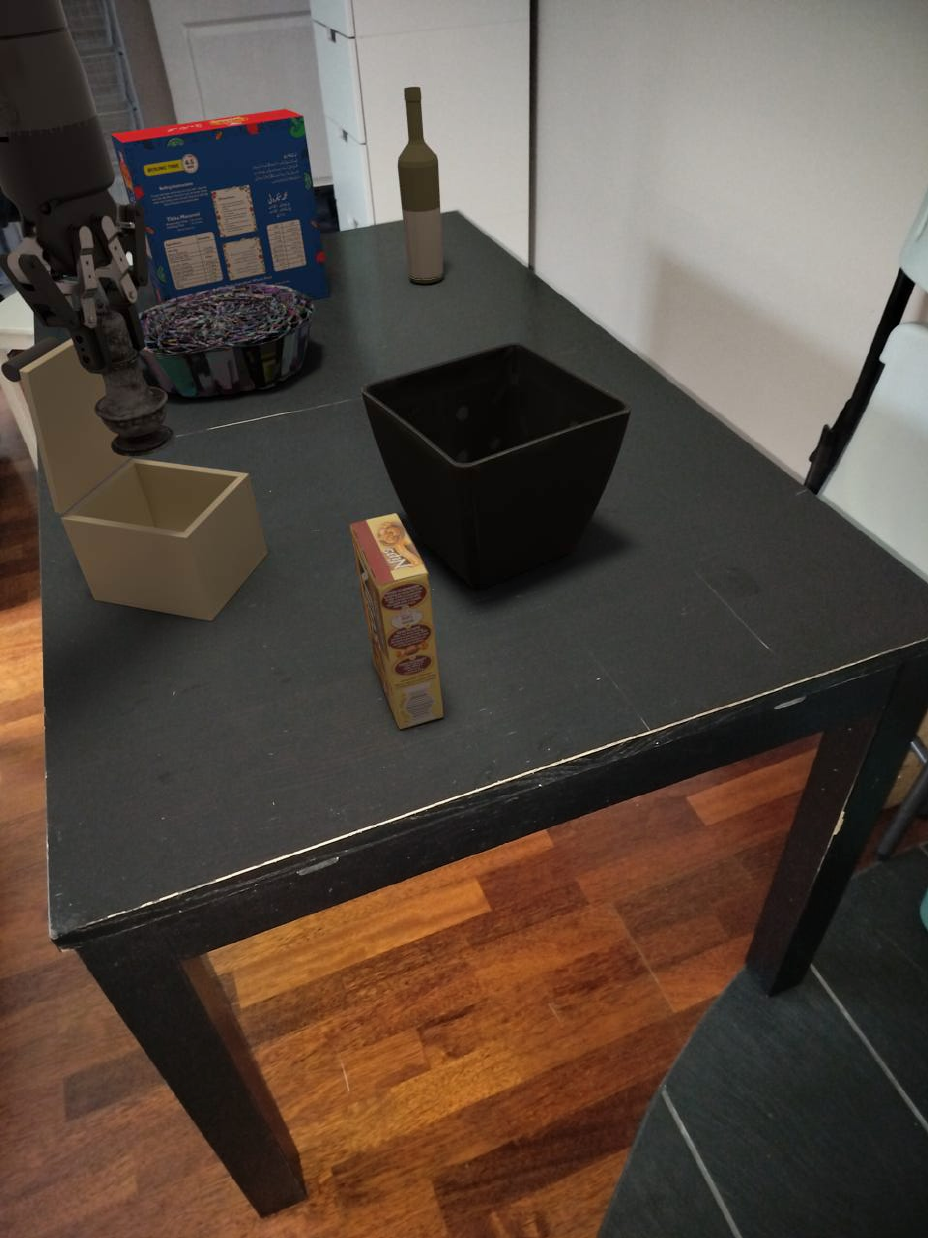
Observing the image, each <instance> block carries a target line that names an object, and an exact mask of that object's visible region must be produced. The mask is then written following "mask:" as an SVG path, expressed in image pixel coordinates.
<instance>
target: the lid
mask: <svg viewBox="0 0 928 1238" xmlns="http://www.w3.org/2000/svg"><path fill="white" fill-rule="evenodd" d="M0 370H1V373H2V375H3V376H4V378H5V379H7V380H8V381H9V382H11V383H19V382H20V381H21V383H22V388H23V392H24V397H25V399H26V404H27V407H28V412H29V416H30V419H31V423H32V427H33V431H34V435H35V440H36V443H37V447H38V450H39V456H40V458H41V462H42V467H43V470H44V474H45V479H46V482H47V486H48V490H49V494H50V498H51V502H52V506H53V510H54V513H55V514H58V515H65V514H66V513H67V512H68V510H71V509H72V508H73V507H74V506H75V505H77V504H78V503H79V502H80V501H81V500H83V499H84V498H85V496H87V495H89V494H90V493H91V491H92V490H95V489H96V488H97V487H98V486H99V485H101V484H102V483H103V481H106V480H107V479H108V478H109V477H110V476H112V475H113V474H114V473H115V472H116V471H118V470H119V469H120V468H121V467H122V466H124V465H125V464H126V463H127V462H128V461H130V460H131V459H132V457H129V456H122V455H119V454H116V453H115V452H113V450H112V448H111V443H112V441H113V440H114V438H115V437H117V436H118V434H116V433H114V432H112V431H111V430H109V429H108V427H107V426H106V425H105V424H104V423H103V421H102V419H101V417H99V416H98V415H96V413H95V411H94V407H95V405H96V403H97V402H98V401H99V400H100V399H101V398H103V397H104V396H106V388H105V383H104V380H103V377H102V374H93V373H89V372H88V371H87V370H86V369H84V368H83V366H82V365H81V364H80V361H79V358H78V355H77V352H76V350H75V347H74V344H73V341H72V338H71V337H70V338H69V339H67V340H66V341H65V342H62V343H61V341H60V340H58V339H57V338H56V337H54V336H47V337H45V338H44V339H42V340H41V341H39V342H38V343H36V344H33V345H32V346H30V347H29V348H27V349H25V350H23V351H22V352H20V353H19V354H16V355H15V356H14V357H11V358H10V359H8V360H6V361H5V362H3V363H2V364H1V366H0Z"/></svg>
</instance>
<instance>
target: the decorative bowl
mask: <svg viewBox="0 0 928 1238" xmlns="http://www.w3.org/2000/svg"><path fill="white" fill-rule="evenodd" d="M315 312H316V308H315V299H313V298H310V297H308V296H306V295H304V294H302V293H301V292H299V291H295V290H293V289H291V288H289V287H284V286H276V285H264V284H247V285H240V286H235V287H226V288H217V289H212V290H209V291H204V292H199V293H193V294H189V295H185V296H181V297H177V298H174V299H171V300H169V301H167V302H164V303H161V304H158V305H157V304H156V305H154V306H152V307H150V308H148V309H146V310H144V311H141V312H139V313H138V315H139V319H140V322H141V326H142V329H143V332H144V342H145V348H144V349H143V350H141V351H140V352H139V353H140V357H139V358H140V360H141V361H142V363H143V364H144V365H145V368H146V369H147V370H148V371H149V373H150V374H151V375H152V377H153V378H154V379H155V381H156V383H157V384H158V385H159V386H160V387H161V389H162V390H163V391H165V392H166V394H171V395H175V394H176V395H177V394H179V395H180V396H181V397H183V398H190V399H198V398H200V397H206V398H209V397H214V396H218V395H222V396H227V395H236V394H239V393H241V392H247V391H248V392H249V391H253V390H259V391H260V390H261V391H263V390H266V389H269V388H272V387H275V386H276V385H277V384H278V382H282V381H285V380H286V379H287V378H289V377H290V376H294V375H296V374H298V372H299V371H300V370H301V368H302V364H303V363H304V362H305V358H306V353H307V347H308V342H309V338H310V337H309V336H310V331H311V325H312V321H313V316H314V313H315Z"/></svg>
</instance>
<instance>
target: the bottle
mask: <svg viewBox="0 0 928 1238" xmlns="http://www.w3.org/2000/svg"><path fill="white" fill-rule="evenodd" d="M403 95H404V96H403V97H404V101H405V113H406V114H405V115H406V123H407V124H406V126H407V136H408V137H407V139H408V140H407V144H406V145H405V147H403V150H402V151H401V153H400V154H399V156H398V159H397V173H398V174H397V175H398V183H399V194H400V203H401V211H402V221H403V233H404V242H405V243H404V244H405V249H406V250H405V251H406V261H407V271H408V277H409V276H410V277H412V278H415V279H421V280H415V279H412V278H410V277H409V281H411V282H413V283H416V284H421V285H429V284H433V283H434V284H435V283H437V282H439V281H440V280H442V279H443V278H444V259H443V258H444V257H443V237H442V215H441V214H442V213H441V194H440V172H439V158H438V155H437V154H436V153H435V152H434V150H432V148H431V147H430V146H429V145H428V143H426V140H425V138H424V124H423V109H422V98H423V97H422V90H421V87H420V86H409V87H405V88H404V89H403ZM442 274H443V275H442ZM441 275H442V276H441ZM439 276H441V277H439ZM437 277H439V278H437ZM432 278H436V279H432ZM422 279H432V280H422Z"/></svg>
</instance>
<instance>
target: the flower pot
mask: <svg viewBox="0 0 928 1238" xmlns="http://www.w3.org/2000/svg"><path fill="white" fill-rule="evenodd" d="M360 391H361V395H362V399H363V400H362V401H363V402H364V403H363V404H364V408H365V411H366V414H367V418H368V421H369V424H370V428H371V431H372V434H373V437H374V440H375V442H376V446H377V449H378V452H379V454H380V457H381V460H382V462H383V465H384V468H385V470H386V472H387V475H388V477H389V480H390V483H391V485H392V487H393V489H394V491H395V494H396V495H397V498H398V500H399V502H400V504H401V506H402V509H403V511H404V513H405V514H406V517H407V519H408V521H409V523H410V525H411V526H412V528H413V530H414V532H415V534H416V535H417V536H418V538H419V539H421V540H422V541H423V542H424V543H425V544H426V546H428V547H429V548H430V549H431V550H432V551H433V552H434V553H435V554H436V555H437V556H438V557H439V558H441V560H443V561H444V562H445V564H447V565H448V566H449V568H451V569H452V570H453V571H454V572H455V573H456V575H458V576H459V577H460V578H461V579H462V580H463V581H464V582H465V583H466V584H468V585H469V587H471V588H473V589H485V588H487V587H489V586H492V585H494V584H497V583H499V582H501V581H504V580H506V579H509V578H511V577H514V576H516V575H519V574H521V573H524V572H526V571H529V570H531V569H534V568H535V567H537V566H540V565H543V564H545V563H548V562H550V561H552V560H555V559H558V558H559V557H561V556H564V555H567V554H569V553H571V552H573V551H574V550H575V549H576V547H577V545H578V544H579V542H580V540H581V538H582V537H583V535H584V534H585V532H586V530H587V528H588V526H589V524H590V522H591V520H592V518H593V516H594V514H595V512H596V510H597V508H598V506H599V504H600V502H601V499H602V497H603V495H604V493H605V490H606V489H607V486H608V483H609V482H610V478H611V475H612V473H613V471H614V468H615V465H616V462H617V460H618V457H619V454H620V451H621V447H622V444H623V441H624V438H625V434H626V431H627V428H628V424H629V421H630V417H631V414H632V409H633V407H632V404H630V403H629V402H628V401H626V400H624V399H622V398H620V397H619V396H617V395H616V394H614V393H612V392H610V391H608V390H606V389H604V388H603V387H601V386H599V385H598V384H596V383H594V382H593V381H590V380H589V379H587V378H585V377H584V376H581V375H580V374H578V373H576V372H575V371H573V370H571V369H569V368H567V367H566V366H564V365H562V364H560V363H559V362H557V361H555V360H553V359H552V358H550V357H548V356H547V355H545V354H544V353H541V352H539V351H538V350H536V349H534V348H532V347H530V346H529V345H527V344H525V343H523V342H520V341H519V342H518V341H512V342H507V343H504V344H499V345H497V346H496V345H495V346H493V347H489V348H486V349H483V350H479V351H475V352H472V353H469V354H465V355H462V356H459V357H456V358H455V357H454V358H452V359H449V360H445V361H442V362H439V363H435V364H431V365H427V366H424V367H421V368H417V369H414V370H410V371H407V372H403V373H400V374H397V375H394V376H390V377H387V378H383V379H380V380H377V381H373V382H369V383H366V384H364V385H363V386H362V387H361V388H360Z"/></svg>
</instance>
